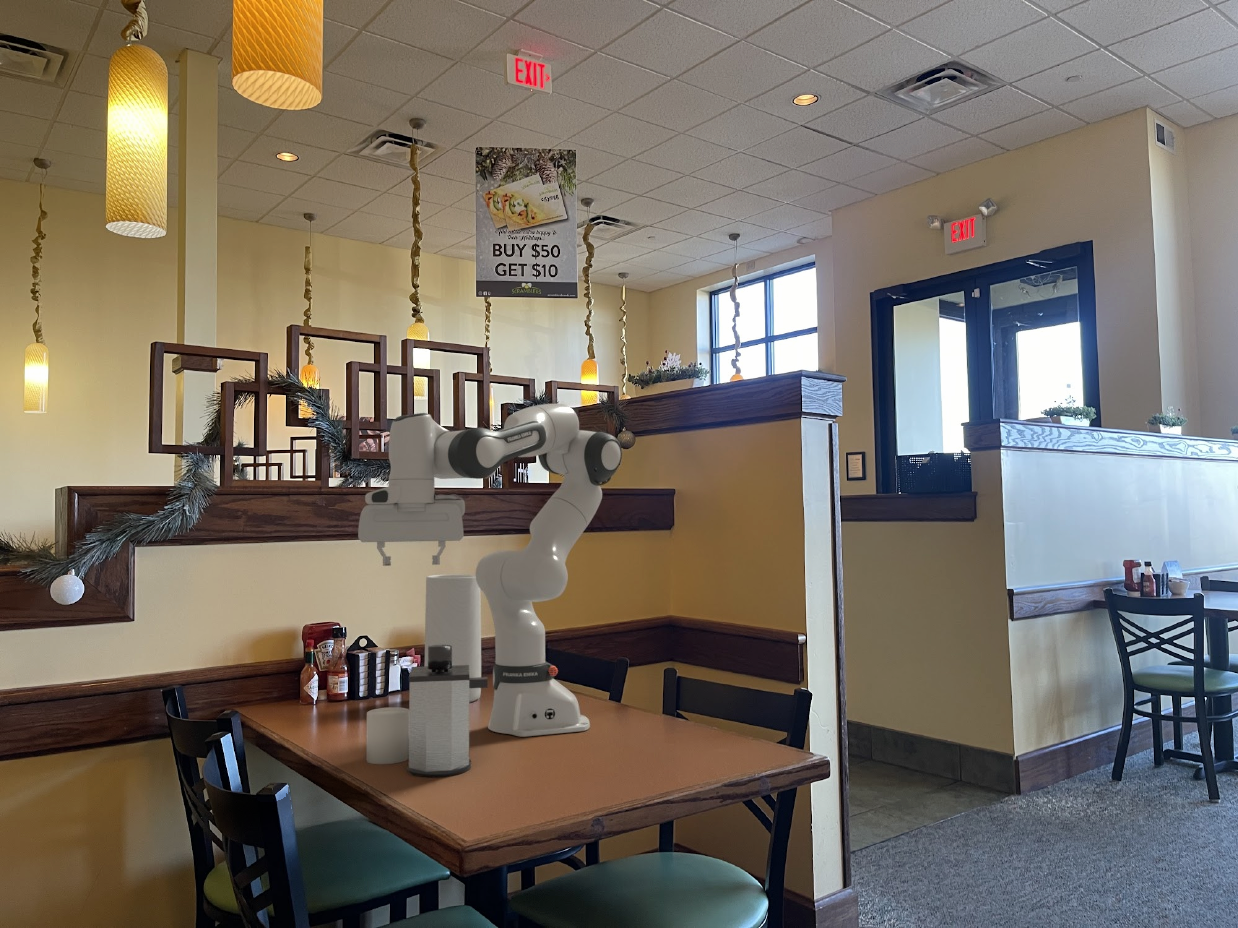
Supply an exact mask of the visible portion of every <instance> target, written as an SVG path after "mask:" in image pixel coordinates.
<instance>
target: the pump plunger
mask: <svg viewBox="0 0 1238 928" xmlns="http://www.w3.org/2000/svg"><path fill="white" fill-rule="evenodd" d="M450 668H452V646H451V645H432V646H428V669H430V670H436V672H444V670H445V669H450Z"/></svg>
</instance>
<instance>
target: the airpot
mask: <svg viewBox="0 0 1238 928" xmlns="http://www.w3.org/2000/svg"><path fill="white" fill-rule="evenodd" d="M409 671H410V672H409V676H408V683H409V697H408V698H409V701H408V702H409V703H408V704H409V707H408V709H409V758H408V763H407V766H406V767H407V770H406V771H407V773H408V774H410V775H412V776H415V777H418V778H419V777H420V778H444V777H446V778H447V777H452V776H458V775H461V774H464V773H466V772H468V771H469V770H470V769H471V768H472V761H471V759H470V702H469V688H481V689H485V688H489V686H488V676H484V677H483V676H481V677H478V678H469V665H454V666H452V668H450V669H445V670H444V672H436V670H430V669H428V666H425V665H424V666H412V667H411V668H410V670H409Z"/></svg>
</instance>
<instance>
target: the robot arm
mask: <svg viewBox="0 0 1238 928" xmlns="http://www.w3.org/2000/svg"><path fill="white" fill-rule="evenodd" d="M537 456H538V460H539V464H540V466H541V467H542V469H544V470H545V471H547V472H548V473H551V474H554V475H563V479H562V482H561V485H560V487H559V488H557V490H556V491H555V492H554V493H553V494H552V495H551V497H550V498H548V499H547V502H546V503H545V504H544V505H543V507H542V508H541V509H540V510H539V511H538V513H537V514H536V516H535V517H534V518H533V519H532V521H531V522H530V524H529V533H530V536H531V537H530V540H529V542H528V543H527V544H526V546H525V547H524V548H523V549H521V550H505V549H503V550H498V551H495V552H492V553H488V554H485V555H484V556H483V557H482V558H481V559H480V560H479V561H478V563H477V566H476V568H475V575H476V581H477V584H478V586H479V588H480V589H481V591H482V593H483V594H484V596H485V598H486V600H487V603H488V606H489V608H490V612H491V616H492V620H493V625H494V637H495V638H494V640H495V647H494V648H495V662H494V663H493V668H492V686H493V689H494V693H493V700H492V701H493V703H492V709H491V714H490V719H489V721H488V726H487V728H488V730H490V731H492V732H495V733H500V734H508V735H512V736H516V737H521V738H522V737H525V738H526V737H532V736H533V737H534V736H543V735H545V736H546V735H554V734H564V733H574V732H575V733H576V732H585V731H587V730H588V729H590V728H591V723H590V719H589V718H588V717H586V715H584V714H581V710H580V705H579V702H578V698H577V697H576V695H575V694H574V693H573V692H571V691H570V690H569V689H568V688H566V687H565V686H564V685H562V684H561V682H559V681H557V680H556V679H555V676H557V674H558V672H559V670H558V668H557V667H556V666H555V665H553V664H552V663H549V662H547V661H546V628H545V626H544V623H543V622H542V621H541V620H540V618H539V617H538V616H537V614H536V612H535V609H534V605H533V602H534V603H540V602H541V603H542V602H545V601H550V600H554V599H556V598H558V597H560V596H561V595H562V594H563V593H564V591H565V590H566V587H567V585H568V581H569V580H568V579H569V575H568V574H569V573H568V569H567V566H566V562H567V559H568V556H569V553H570V551H571V550H572V548H573V547H574V546H575V544H576V543H577V541H578V540H579V538H580V537H581V536H582V534H583V533H584V531H585V530H586V529H587V527H588V525H590V523H591V521H592V519H593V518H594V516H595V515H596V513H597V510H598V509H599V506H600V504H601V502H602V499H603V491H602V487H601V486H603V485H606V484H607V483H609V481H611V478H612V477H613V476H614V475H615V473H616V472H617V471H618V469H619V467H620V465H621V461H622V457H623V451H622V446H621V443H620V441H619V440H618V439H617V437H615V436H614V435H612V434H610V433H607V432H604V431H591V430H582V429H580V421H579V417H578V415H577V413H576V411H575V410H574V409H573V408H572V407H570V406H569V405H567V404H564V403H546V404H545V403H544V404H537V405H533V406H529V407H525V408H523V409H520V410H518V411H516V412H513V413H512V414H510V415H508V417H507V418H506V419H505V421H504V425H503V428H502V429H500V430H496V431H495V430H491V429H488V428H484V427H473V428H469V429H465V430H464V429H463V430H454V431H450V430H448V429H446V428H444V427H443V426H441V425H440V424H438V423H437V422H436V421H435V420H434V419H433V417H432V415H431V414H430V413H427V412H419V413H418V412H417V413H411V414H405V415H400V416H397V417H395V418H394V419H393V420H392V422H391V426H390V430H389V440H388V460H389V464H390V471H389V477H388V486H386V487H381V488H378V489H377V490H374V491H373V490H372V491H370V492H367V493H366V494H365V497H364V498H365V499H364V500H365V503H366V504H367V505H365V506H364V507H363V509H362V510H361V511H360V517H359V522H358V528H357V529H358V532H357V534H358V535H357V538H358V540H359V541H360V542H361V543H376V549H377V550H378V552H379V553H380V555H381V557H382V566H383V567H386V566H388V567H389V566H390V567H391V566H392V561H391V560H392V556H390V555H386V552H385V551H384V549H383V548H385V547H386V543H400V542H401V543H402V542H403V543H404V542H407V543H408V542H412V543H413V542H438V543H437V544H438V545H437V546H438V547H440V549H439V550H438V551H437V552H436V554H435V555H432V558H431V560H432V562H431V563H432V566H433V565H435V566H436V565H437V566H438V565H441V562H440V561H441V555H442V553H443V552H444V550H445V548H446V542H455V541H456V542H457V541H458V542H460V541H461V540H462V539H463V538H464V537H465V536H464V523H463V516H464V515H465V513H466V501H465V500H464V498H463V497H461V496H458V494H455V493H454V494H435V479H442V480H446V479H448V480H449V479H477V480H479V479H480V480H481V479H485V478H488V477H490V476H491V475H493V473H495V472H496V471H497V470H498V469H499V467H501V465H503V464H504V463H506V462H507V461H509V460H513V459H515V458H530V457H537Z"/></svg>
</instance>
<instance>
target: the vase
mask: <svg viewBox="0 0 1238 928" xmlns="http://www.w3.org/2000/svg"><path fill="white" fill-rule="evenodd" d="M425 578H426V580H425V614H424V615H425V618H424V621H425V623H424V628H425V630H424V631H425V632H424V666H428V646H432V645H451V646H452V666H454V665H469V678H478V677H482V611H481V610H482V609H481V607H482V605H481V603H482V599H481V598H482V597H481V596H482V595H481V591H482V590H481V589H480V588H479V586H478V584H477V581H476V574H461V573H459V574H458V573H457V574H456V573H455V574H454V573H453V574H449V573H448V574H435V575H433V574H432V575H427V576H426V577H425ZM481 691H482V688H469V703H472V702H475V701H477V700H478V699H479V698H480V697H481Z"/></svg>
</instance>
